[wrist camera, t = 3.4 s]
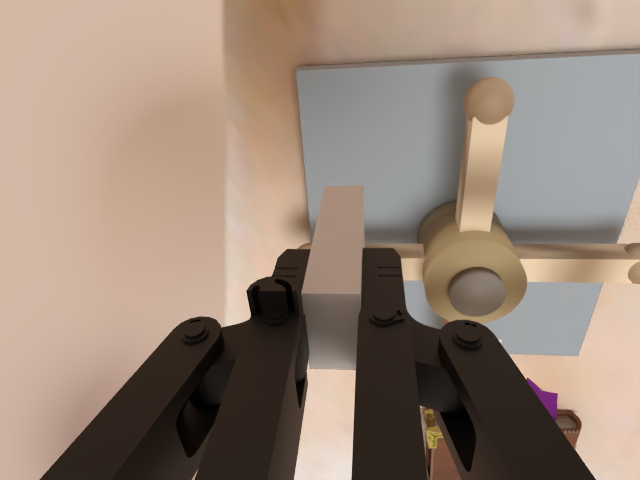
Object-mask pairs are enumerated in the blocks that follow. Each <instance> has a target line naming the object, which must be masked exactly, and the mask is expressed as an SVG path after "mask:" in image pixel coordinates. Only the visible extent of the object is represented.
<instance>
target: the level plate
mask: <svg viewBox="0 0 640 480" xmlns="http://www.w3.org/2000/svg"><path fill="white" fill-rule="evenodd" d="M487 77H496V78H500V79H502V80H504V81H506V82H507V83H508V84H509V85H510V87H511V88H512V90H513V93H514V98H515V101H514V107H513V110H512V112H511V113H510V115H509V116H508V123H507V129H506V135H505V141H504V147H503V154H502V160H501V166H500V172H499V179H498V185H497V191H496V197H495V204H494V210H493V211H494V213H495V214H496V215H497V216H498V218H499V220H500V222H501V224H502V226H503V228H504V230H505V232H506V234H507V236H508V238H509V240H510V242H511V244H617V241H618V238H619V235H620V233H621V230H622V227H623V224H624V221H625V218H626V215H627V212H628V209H629V206H630V203H631V200H632V198H633V195H634V192H635V189H636V186H637V183H638V180H639V177H640V49H628V50H608V51H589V52H569V53H550V54H530V55H510V56H491V57H471V58H451V59H432V60H412V61H393V62H373V63H353V64H334V65H314V66H299V67H298V69H297V70H296V79H297V90H298V101H299V112H300V123H301V134H302V145H303V156H304V167H305V179H306V190H307V201H308V212H309V223H310V234H311V243H312V241H313V237H314V232H315V228H316V223H317V218H318V214H319V209H320V204H321V200H322V195H323V190H324V186H364V240H365V244H418V243H417V235H418V231H419V228H420V225H421V223H422V222H423V220H424V219H425V218H426V217H427V215H429V214H430V213H431V212H432V211H433V210H435V209H436V208H438V207H440V206H442V205H444V204H446V203H450V202H454V201H457V196H458V187H459V178H460V169H461V160H462V151H463V142H464V132H465V123H466V115H465V113H464V109H463V101H464V97H465V94H466V92H467V91H468V89H469V88H470V87H471V86H472V85H473V84H474V83H475V82H477V81H478V80H480V79H483V78H487ZM403 283H404V292H405V301H406V308H407V311H408V313H409V314H410V316H411V317H413V318H414V319H415V320H416V321H418V322H420V323H421V324H424V325H427V326H430V327H433V328H437V329H441V328H442V327H443V324H444V318H442V317H441V316H439V315H438V314H437V313H436V312H435V311H434V310H433V309H432V308H431V307H430V305H429V303H428V301H427V299H426V294H425V288H424V282H423V281H405V280H403ZM602 285H603V283H576V282H527V289H526V292H525V295H524V297H523V299H522V300H521V302H520V303H519V304H518V305H517V307H516V308H515V309H513V310H512V311H511V312H510V313H508V314H507V315H505V316H504V317H502V318H500V319H497V320H495V321H492V322H489V323H484V324H482V325H484V326H486V327H488V328H489V329H490V330H491V331H492V332H493V333H494V334H495V336H496V337H497V339H498V340H499V342H500V343H501V344H502V346H503V347H504V349H505V350H506V352H507V353H508V354H524V355H556V356H578V355H579V352H580V349H581V346H582V343H583V340H584V337H585V335H586V332H587V329H588V326H589V323H590V320H591V317H592V314H593V311H594V308H595V305H596V302H597V300H598V297H599V294H600V291H601V288H602Z"/></svg>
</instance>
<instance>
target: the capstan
mask: <svg viewBox="0 0 640 480" xmlns="http://www.w3.org/2000/svg"><path fill="white" fill-rule="evenodd" d="M514 101H515V98H514V93H513V90H512V88H511V87H510V85H509V84H508V83H507V82H506V81H504V80H502V79H500V78H496V77H487V78H483V79H480V80H478V81H477V82H475V83H474V84H473V85H472V86H471V87H470V88H469V89H468V91H467V92H466V94H465V97H464V101H463V109H464V113H465V115H466V123H465V132H464V142H463V151H462V160H461V169H460V178H459V187H458V196H457V201H454V202H450V203H446V204H444V205H442V206H440V207H438V208H436V209H435V210H433V211H432V212H431V213H430V214H429V215H427V217H426V218H425V219H424V220H423V222H422V223H421V225H420V228H419V231H418V235H417V243H418V244H365V248H394V249H395V250H396V252H397V253H398V254H399V255H400V256H401V264H402V273H403V280H405V281H423V282H424V288H425V294H426V299H427V301H428V303H429V305H430V307H431V308H432V309H433V310H434V311H435V312H436V313H437V314H438V315H439V316H441V317H442V318H444V324H443V326H444V325H445V324H447V323H448V322H451V321H454V320H471V321H475V322H478V323H480V324H484V323H489V322H492V321H495V320H497V319H500V318H502V317H504V316H505V315H507V314H508V313H510V312H511V311H512V310H513V309H515V308H516V307H517V305H518V304H519V303H520V302H521V300H522V299H523V297H524V295H525V292H526V289H527V282H576V283H634V284H640V243H632V244H628V245H627V244H511V242H510V240H509V238H508V236H507V234H506V232H505V230H504V228H503V226H502V224H501V222H500V220H499V218H498V216H497V215H496V214H495V213H494V211H493V210H494V204H495V197H496V191H497V185H498V179H499V172H500V166H501V160H502V154H503V147H504V141H505V135H506V129H507V123H508V116H509V115H510V113H511V112H512V110H513V107H514ZM311 246H312V243H306V244H304V245H302V246H300V247H299V248H298V249H311Z"/></svg>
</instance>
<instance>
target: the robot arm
mask: <svg viewBox="0 0 640 480" xmlns="http://www.w3.org/2000/svg"><path fill="white" fill-rule="evenodd" d="M247 296H248V301H249V307H250V312H251V317H250V319H249V320H247V321H245V322H243V323H239V324H236V325H231V326H227V327H222V328H221V325H220V324H219V323H218V322H217V320H215V319H213V318H210V317H196V318H191V319H189V320H186V321H184V322H182V323H180V324H179V325H178V326H177V327H176V328H175V329H173V331H172V332H171V333H170V334H169V335H168V336H167V337H166V338H165V339H164V341H163V342H162V343H161V344H160V345H159V346H158V348H157V349H156V350H155V351H154V352H153V353H152V354H151V355H150V356H149V357H148V359H147V360H146V361H145V362H144V363H143V364H142V365H141V366H140V368H139V369H138V370H137V371H136V372H135V373H134V374H133V376H132V377H131V378H130V379H129V380H128V381H127V382H126V383H125V385H124V386H123V387H122V388H121V389H120V390H119V391H118V392H117V394H116V395H115V396H114V397H113V398H112V399H111V400H110V401H109V402H108V403H107V405H106V406H105V407H104V408H103V409H102V410H101V411H100V412H99V414H98V415H97V416H96V417H95V418H94V419H93V420H92V421H91V423H90V424H89V425H88V426H87V427H86V428H85V430H84V431H83V432H82V433H81V434H80V435H79V436H78V437H77V438H76V439H75V441H74V442H73V443H72V444H71V445H70V446H69V447H68V448H67V450H66V451H65V452H64V453H63V454H62V455H61V456H60V457H59V459H58V460H57V461H56V462H55V463H54V464H53V465H52V466H51V468H50V469H49V470H48V471H47V472H46V473H45V474H44V475H43V477H42V478H41V479H40V480H192V478H193V476H194V475H195V473H196V471H197V470H198V471H197V475H196V477H195V480H294V474H295V467H296V461H297V454H298V447H299V440H300V434H301V427H302V420H303V413H304V407H305V400H306V393H307V386H308V381H307V372H306V371H307V365H308V358H309V367H310V369H339V370H356V384H355V409H354V435H353V460H352V480H428V477H427V468H426V459H425V450H424V441H423V432H422V423H421V414H420V405H421V406H424V407H427V408H430V409H433V414H434V416H435V419H436V421H437V423H438V426H439V428H440V430H441V433H442V435H443V437H444V440H445V442H446V445H447V447H448V449H449V452H450V454H451V456H452V459H453V461H454V463H455V466H456V468H457V470H458V473H459V475H460V477H461V480H596V479H595V478H594V476H593V475H592V474H591V472H590V471H589V469H588V468H587V466H586V465H585V463H584V462H583V461H582V459H581V458H580V456H579V455H578V453H577V452H576V451H575V449H574V448H573V446H572V445H571V443H570V442H569V441H568V439H567V438H566V436H565V435H564V433H563V432H562V430H561V429H560V428H559V426H558V425H557V423H556V422H555V420H554V419H553V418H552V416H551V415H550V413H549V412H548V410H547V409H546V408H545V406H544V405H543V403H542V402H541V400H540V399H539V397H538V396H537V395H536V393H535V392H534V390H533V389H532V387H531V386H530V385H529V383H528V382H527V380H526V379H525V377H524V376H523V375H522V373H521V372H520V370H519V369H518V367H517V366H516V364H515V363H514V362H513V360H512V359H511V357H510V356H509V354H508V353H507V352H506V350H505V349H504V347H503V346H502V344H501V343H500V342H499V340H498V339H497V337H496V336H495V334H494V333H493V332H492V331H491V330H490V329H489V328H488V327H486V326H484V325H482V324H480V323H478V322H475V321H471V320H454V321H451V322H448V323H447V324H445V325H444V326H443V327H442V328H441V329H437V328H433V327H430V326H427V325H424V324H421V323H420V322H418V321H416V320H415V319H414V318H413V317H411V316H410V314H409V313H408V311H407V308H406V301H405V292H404V283H403V273H402V264H401V256H400V255H399V254H398V253H397V252H396V250H395V249H394V248H365V240H364V186H324V190H323V195H322V200H321V204H320V209H319V214H318V218H317V223H316V228H315V232H314V237H313V241H312V246H311V249H287V250H286V251H284V252H283V253H282V254H281V255H280V256H279V257H278V259H277V262H276V266H275V269H274V272H273V275H272V276H271V277H265V278H262V279H260V280H257V281H256V282H254V283H253V284H251V285H250V287H249V288H248V289H247Z"/></svg>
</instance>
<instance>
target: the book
mask: <svg viewBox="0 0 640 480" xmlns="http://www.w3.org/2000/svg"><path fill="white" fill-rule="evenodd" d="M527 382H528V383H529V385H530V386H531V387H532V389H533V390H534V392H535V393H536V395H537V396H538V397H539V399H540V400H541V402H542V403H543V405H544V406H545V408H546V409H547V410H548V412H549V413H550V415H551V416H552V418H553V419H554V420H555V422H556V423H557V425H558V426H559V428H560V429H561V430H562V432H563V433H564V435H565V436H566V438H567V439H568V441H569V442H570V443H571V445H572V446H573V448H574V449H576V442H577V439H578V436H579V433H580V430H581V421H580V419H579V418H578V417H577V416H576V415H575V414H574V413H573V412H571V411H570V410H561V409H557V395H558V394H556V393H550V392H546V391H541V390H542V389H540V388H539V387H538V386H537V385H536V384H534V383H533V382H532V381H531V380H530V379H528V378H527ZM425 419H426V424H427V428H426V437H427V456H426V468H427V477H428V480H461V477H460V475H459V473H458V470H457V468H456V466H455V463H454V461H453V459H452V456H451V454H450V452H449V449H448V447H447V445H446V442H445V440H444V437H443V435H442V433H441V430H440V428H439V426H438V423H437V421H436V419H435V416H434V414H433V409H428V410H425Z"/></svg>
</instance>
